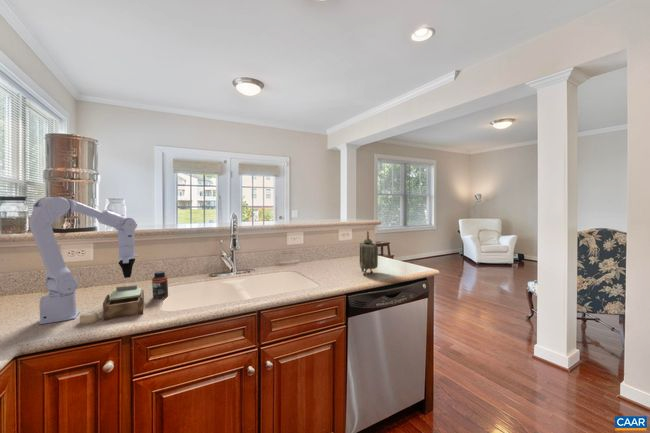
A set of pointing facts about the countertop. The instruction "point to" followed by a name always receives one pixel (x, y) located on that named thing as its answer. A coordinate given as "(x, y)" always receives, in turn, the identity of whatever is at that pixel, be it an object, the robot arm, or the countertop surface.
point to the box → (123, 307)
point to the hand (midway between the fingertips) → (127, 276)
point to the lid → (125, 292)
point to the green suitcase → (368, 255)
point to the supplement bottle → (160, 285)
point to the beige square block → (88, 318)
